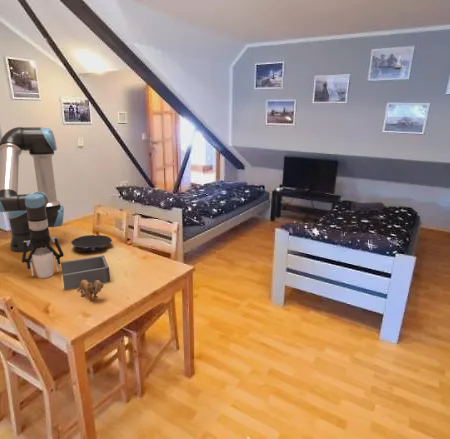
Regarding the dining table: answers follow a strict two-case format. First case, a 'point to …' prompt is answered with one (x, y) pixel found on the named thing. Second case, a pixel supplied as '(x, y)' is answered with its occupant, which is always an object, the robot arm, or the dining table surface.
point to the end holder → (84, 271)
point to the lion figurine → (90, 288)
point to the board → (91, 243)
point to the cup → (43, 262)
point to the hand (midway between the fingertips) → (45, 272)
